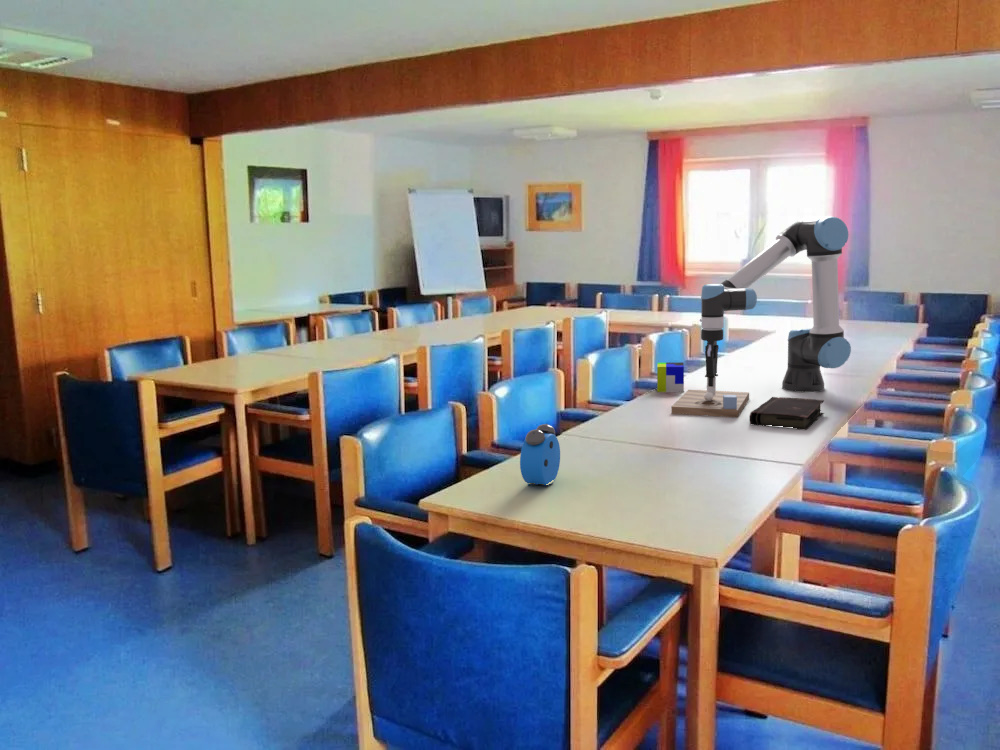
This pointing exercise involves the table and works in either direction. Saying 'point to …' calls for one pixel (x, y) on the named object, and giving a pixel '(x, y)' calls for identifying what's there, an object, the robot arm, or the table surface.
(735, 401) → the blue block
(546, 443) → the alarm clock
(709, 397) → the ball
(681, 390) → the puzzle toy
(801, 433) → the table surface
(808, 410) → the diary
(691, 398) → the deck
